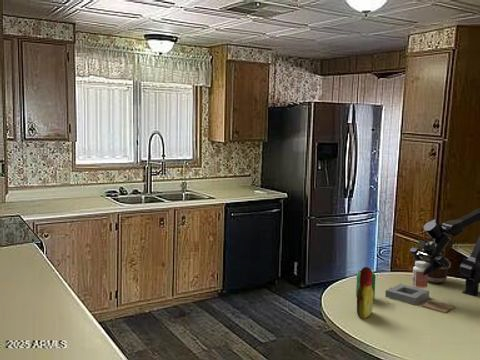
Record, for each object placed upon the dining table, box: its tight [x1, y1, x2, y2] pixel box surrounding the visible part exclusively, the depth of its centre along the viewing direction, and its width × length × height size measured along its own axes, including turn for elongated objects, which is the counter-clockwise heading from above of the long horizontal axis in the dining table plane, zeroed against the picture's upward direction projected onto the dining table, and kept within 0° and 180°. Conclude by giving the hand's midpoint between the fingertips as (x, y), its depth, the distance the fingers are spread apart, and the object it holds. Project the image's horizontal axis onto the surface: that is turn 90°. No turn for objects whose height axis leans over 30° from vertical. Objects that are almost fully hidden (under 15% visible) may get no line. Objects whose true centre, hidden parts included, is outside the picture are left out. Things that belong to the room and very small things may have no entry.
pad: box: [421, 299, 456, 314], centre depth 209 cm, size 10×10×1 cm
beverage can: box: [355, 270, 376, 300], centre depth 217 cm, size 8×8×12 cm
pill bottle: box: [412, 261, 429, 289], centre depth 216 cm, size 6×6×11 cm
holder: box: [385, 283, 430, 306], centre depth 221 cm, size 14×14×3 cm
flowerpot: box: [423, 248, 452, 285], centre depth 245 cm, size 14×15×20 cm
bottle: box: [356, 266, 374, 319], centre depth 197 cm, size 12×6×20 cm, turn 154°
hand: (418, 272), depth 215 cm, fingers closed on pill bottle, 6 cm apart
